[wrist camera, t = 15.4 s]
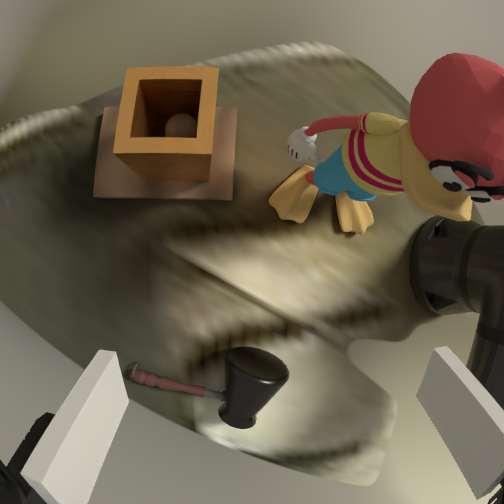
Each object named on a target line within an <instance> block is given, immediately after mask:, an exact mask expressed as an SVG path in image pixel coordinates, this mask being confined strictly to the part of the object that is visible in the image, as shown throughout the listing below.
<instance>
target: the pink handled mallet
mask: <svg viewBox="0 0 504 504" xmlns="http://www.w3.org/2000/svg"><path fill="white" fill-rule="evenodd" d="M137 365H138V366H139V363H136V365H135V367H134V369H132V370H131V371H130V374H129V377H130V379H131V380H133V381H135V382H137V383H140V384H144V383H145V384H146V385H147V386H151V387H155V386H158V387H159V388H161V389H162V390H169V391H182V392H187V393H190V394H193V395H197V396H200V397H204V396H207V397H212V398H217V399H221V401H224V404H222V405H221V406H220V408H219V410H218V413H219V416H220V418H221V419H222V420H223V421H224V422H225V423H226V424H228V425H229V426H232V427H235V428H239V429H248V428H250V427H253V426H254V425H255V423H256V414H257V413H258V412H259V411H260V410H261V409H262V408H263V407H264V406H265V405H266V404H267V403H268V401H269V400H270V399H271V398H272V397H273V396H274V395H275V394H276V393H277V392H278V391H279V390H280V388H281V387H282V386H283V385H284V384H285V383H286V382H287V381H288V378H289V371H288V368H287V366H286V365H285V364H284V362H283V361H282V360H280V359H279V358H278V357H276V356H275V355H273V354H271V353H269V352H267V351H264V350H261V349H258V348H253V347H243V346H242V347H236V348H234V349H232V350H230V351H229V352H228V353H227V355H226V357H225V391H223V392H221V391H215V390H210V389H206V387H202V386H195V385H188V384H183V383H181V382H178V381H175V380H173V379H170V378H167V377H158V376H157V375H156V374H152V373H146V372H145V371H143V370H138V369H136V366H137Z"/></svg>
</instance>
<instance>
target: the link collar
mask: <svg viewBox="0 0 504 504" xmlns="http://www.w3.org/2000/svg"><path fill="white" fill-rule="evenodd" d="M218 74H219V68H213V67H137V68H128V70H127V74H126V78H125V83H124V88H123V93H122V98H121V103H120V109H119V115H118V121H117V128H116V135H115V142H114V150H113V154H114V155H115V156H117V157H118V158H119V159H120V160H121V161H122V162H123V163H125V164H126V165H127V166H128V167H129V168H130V169H131V170H132V171H134V172H135V173H136V174H137V175H138V176H139V177H140V178H142V179H143V180H184V181H209V177H210V167H211V158H212V146H213V132H214V119H215V107H216V96H217V85H218ZM180 113H184V114H188V115H190V116H192V117H193V118H194V119H195V120H196V122H197V124H198V127H197V138H177V137H157V136H158V128H159V127H165V126H166V124H167V122H168V120H169V119H170V118H171V117H172V116H174V115H176V114H180Z"/></svg>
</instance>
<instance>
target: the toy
mask: <svg viewBox="0 0 504 504" xmlns="http://www.w3.org/2000/svg"><path fill="white" fill-rule="evenodd" d="M343 128H349V129H351V130H349V132H348V133H347V134H346V136H345V138H344V140H343V144H342V145H341V146H340V147H339V148H338V149H337V150H336V151H335V152H334V153H333V154H332V155H331V156H330V157H329V158H328V159H327V160H326V161H325V162H322V163H320V164H319V165H317V166H316V168H313V167H310V166H306V165H304V166H302V167H301V168H300V169H298V170H297V171H296V172H295V173H294V174H293V175H291V176H290V177H289V178H288V179H287V180H286V181H285V182H284V183H283V184H281V185H280V186H279V187H278V188H277V190H276V191H275V192H274V193H273V194H272V195H271V197H270V198H269V203H270V205H271V206H273V207H274V208H275V209H276V211H277V213H278V215H279V217H280V218H281V219H283V220H294V221H296V222H297V223H300V224H301V223H303V222H304V221H305V219H306V218H307V216H308V214H309V212H310V210H311V207H312V205H313V202H314V200H315V197H316V194H317V191H318V189H320V190H321V191H323V192H325V193H326V194H330V195H335V198H336V205H337V213H338V217H339V222H340V227H341V229H342V231H343V232H350V231H353V232H355V233H358V234H364V233H365V230H366V228H367V227H368V226H370V225H372V224H373V223H374V219H373V215H372V212H371V210H370V208H369V206H368V204H367V202H366V201H369V200H372V199H374V198H375V197H376V196H377V195H378V196H383V197H386V196H396V195H398V194H400V193H402V192H404V191H405V193H406V195H407V196H408V198H409V199H410V200H411V201H412V202H413V203H415V204H416V205H417V206H418V207H420V208H421V209H423V210H425V211H427V212H430V213H433V214H436V215H439V216H443V217H446V218H449V219H452V220H455V221H469V220H470V219H471V208H472V200H473V201H475V202H481V203H484V202H490V201H491V199H490V198H493V199H495V200H500V199H503V198H504V69H503V68H502V67H500V66H499V65H497V64H495V63H493V62H491V61H488V60H485V59H483V58H481V57H478V56H475V55H469V54H460V53H453V54H447V55H446V56H443V57H442V58H440V59H438V60H436V61H435V63H433V65H432V66H431V67H430V68H429V69H428V70H427V72H426V73H425V74H424V75H423V76H422V78H421V79H420V81H419V83H418V85H417V86H416V88H415V91H414V94H413V97H412V100H411V108H410V119H409V121H406V120H403V119H397V118H395V117H393V116H391V115H387V114H383V113H378V112H375V113H363V114H361V115H360V116H337V117H328V118H324V119H321V120H319V121H316V122H314V123H313V124H312V125H311V126H310V127H302V128H301V129H298V130H296V131H294V132H293V133H292V134H291V135H290V137H289V138H288V141H287V150H288V153H289V155H290V157H291V158H292V159H293V160H295V161H297V162H303V161H306V159H307V158H308V157H309V156H310V157H311V158H312V159H313V160H314V161H316V162H317V161H318V160H319V154H318V149H317V147H316V146H315V144H314V141H315V140H316V138H317V135H316V133H319V132H322V131H326V130H330V129H343Z"/></svg>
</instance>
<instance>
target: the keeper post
mask: <svg viewBox="0 0 504 504" xmlns="http://www.w3.org/2000/svg"><path fill="white" fill-rule="evenodd" d="M119 109H120V106H115V107H105V108H104V113H103V119H102V125H101V131H100V137H99V144H98V152H97V160H96V168H95V178H94V189H93V197H95V198H140V199H185V200H212V201H232V197H233V177H234V157H235V140H236V123H237V108H232V107H215V119H214V132H213V146H212V158H211V167H210V177H209V181H184V180H143V179H142V178H140V177H139V176H138V175H137V174H136V173H135V172H134V171H132V170H131V169H130V168H129V167H128V166H127V165H126V164H125V163H123V162H122V161H121V160H120V159H119V158H118V157H117V156H115V155H114V154H113V150H114V142H115V135H116V128H117V121H118V115H119ZM197 127H198V124H197V122H196V120H195V119H194V118H193V117H192V116H190V115H188V114H184V113H180V114H176V115H174V116H172V117H171V118H170V119H169V120H168V122H167V124H166V126H165V127H159V128H158V136H157V137H177V138H197Z"/></svg>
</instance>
